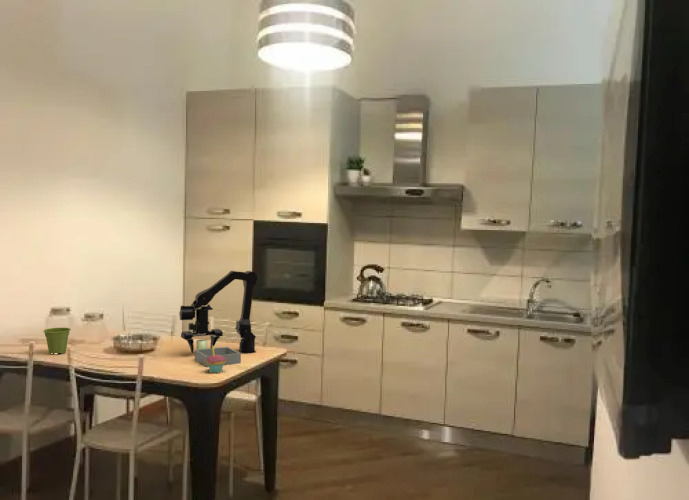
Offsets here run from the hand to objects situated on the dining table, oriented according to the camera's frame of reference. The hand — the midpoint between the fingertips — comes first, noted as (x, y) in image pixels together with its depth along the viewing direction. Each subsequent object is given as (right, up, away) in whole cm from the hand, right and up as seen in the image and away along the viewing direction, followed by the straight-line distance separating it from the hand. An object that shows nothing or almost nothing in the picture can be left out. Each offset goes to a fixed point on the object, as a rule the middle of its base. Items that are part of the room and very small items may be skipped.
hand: (201, 351), depth 296 cm
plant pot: (-68, -1, -2) cm, 68 cm away
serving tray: (+10, -2, -13) cm, 16 cm away
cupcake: (+13, -4, -31) cm, 33 cm away
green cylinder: (0, -2, 0) cm, 2 cm away
